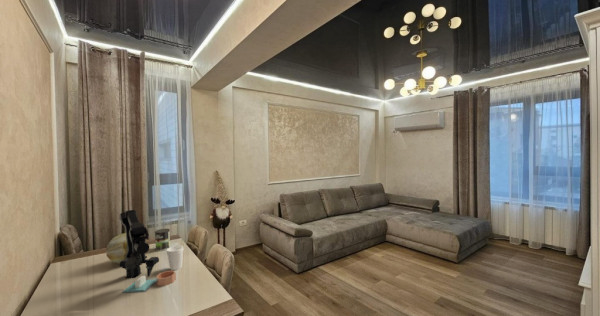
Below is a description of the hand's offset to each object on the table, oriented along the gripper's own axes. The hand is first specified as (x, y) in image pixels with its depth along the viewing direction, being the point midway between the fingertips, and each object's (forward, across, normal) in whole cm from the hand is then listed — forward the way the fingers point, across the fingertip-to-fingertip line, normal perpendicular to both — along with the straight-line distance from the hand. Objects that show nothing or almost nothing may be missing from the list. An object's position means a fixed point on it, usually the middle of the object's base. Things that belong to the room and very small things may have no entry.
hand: (140, 277), depth 138 cm
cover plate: (+5, 0, 0) cm, 5 cm away
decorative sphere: (+6, -33, +34) cm, 48 cm away
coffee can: (+6, -20, +58) cm, 62 cm away
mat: (+5, 0, 0) cm, 5 cm away
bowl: (+5, +12, +4) cm, 14 cm away
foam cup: (+6, +9, +21) cm, 23 cm away
